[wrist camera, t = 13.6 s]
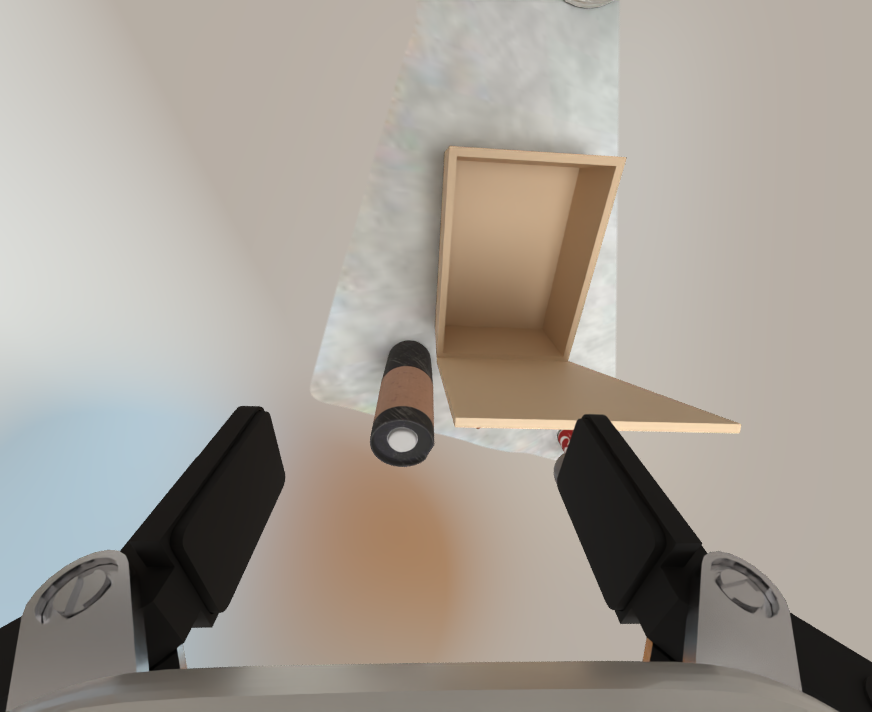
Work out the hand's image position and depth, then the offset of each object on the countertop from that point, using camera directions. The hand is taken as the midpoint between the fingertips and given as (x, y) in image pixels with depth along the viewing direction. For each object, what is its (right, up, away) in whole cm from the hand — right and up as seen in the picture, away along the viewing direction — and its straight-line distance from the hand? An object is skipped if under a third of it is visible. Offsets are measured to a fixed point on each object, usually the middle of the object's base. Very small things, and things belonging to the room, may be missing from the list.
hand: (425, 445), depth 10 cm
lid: (+10, +1, +22) cm, 24 cm away
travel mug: (-4, +2, +45) cm, 45 cm away
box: (+10, +18, +37) cm, 42 cm away
